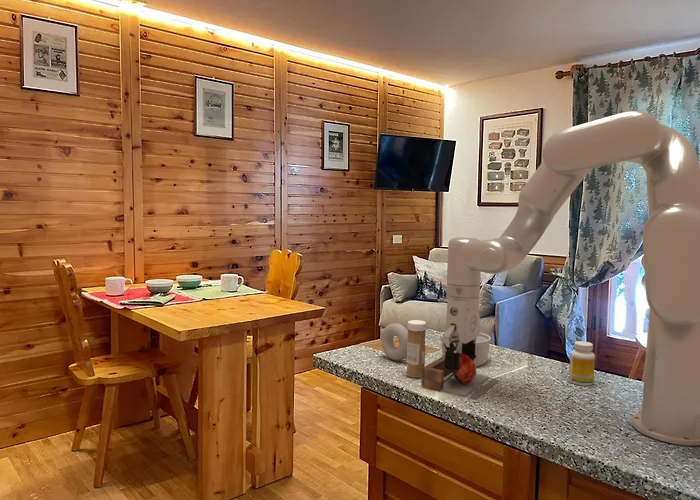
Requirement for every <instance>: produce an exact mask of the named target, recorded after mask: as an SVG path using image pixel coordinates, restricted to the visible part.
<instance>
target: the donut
mask: <svg viewBox="0 0 700 500" xmlns="http://www.w3.org/2000/svg"><path fill="white" fill-rule="evenodd" d="M394 337H396V338H397V339H398V344H399V345H398V347H397V346H396V345H395V343H394V339H395V338H394ZM407 341H408V329H407V327H405V325H402V324H400V323H398V322H397V323H395V322H393V323H390V324H387V325H386V326H385V327H384V328H383V330H382V332H381V336H380V343H381V348H382V351H383V352H384V354H385V355H386V356H387V357H388V358H389V359H390V360H391V359H392V360H393V361H397V362H399V361H400V362H401V361H403V360H405V359H407Z"/></svg>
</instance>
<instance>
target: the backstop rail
mask: <svg viewBox="0 0 700 500" xmlns="http://www.w3.org/2000/svg"><path fill="white" fill-rule="evenodd" d="M451 373H452V372H451V370H449V369H446V368H445V355H444V356H443V355H442V356H441V357H439V358H437V359H435V360H434V361H432V362H430V363H428V364H427V365H425V367H423V368H422V378H421V388H424V389H427V390H433V391H436V392H442V391H441V389H442V388H443V385H444V377H446V376H448V375H449V374H451Z"/></svg>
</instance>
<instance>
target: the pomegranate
mask: <svg viewBox="0 0 700 500" xmlns="http://www.w3.org/2000/svg"><path fill="white" fill-rule="evenodd" d="M476 357H477V356H476V355H474V356H472V357H468V355H466V354H463V353H460V354H459V370H457V371H456V370H451V369H449V370H451V372H452V373H453V374H452V375H451V376H450V377H449V378H447V379H446V380H445V381H444V382H446V381H447V380H449V379H450V378H451V377H452V376H454V377H455V378H456V379H457V380H458V381H460V382H461V383H462V384H467V383H469V382H471V381H472V380H473V379H474V377H475V375H476V374H477V366H475V364H474V362H473V360H474V359H475V358H476Z"/></svg>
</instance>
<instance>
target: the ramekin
mask: <svg viewBox="0 0 700 500" xmlns="http://www.w3.org/2000/svg"><path fill="white" fill-rule="evenodd" d="M444 335H445V331H443V332H442V333H440V341H441V352H442V357H443V356H444V355H445V346H444V343H445V342H444ZM455 339H456V338H455ZM491 343H492V337H491V336H490V335H489V334H486V333H483V332H479V336H478V337H477V338H476V343H475V355H476V356H477V357H476V358H475V359H474V360H473V362H474V364H475V366H476V367H480V366H483V365H484V364H485V363H486V362H487V360H488V357H489V352H490V346H491ZM453 344H454V346H455V345H456V343H453ZM458 353H462V342H461V344H460V347H459V350H458Z"/></svg>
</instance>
